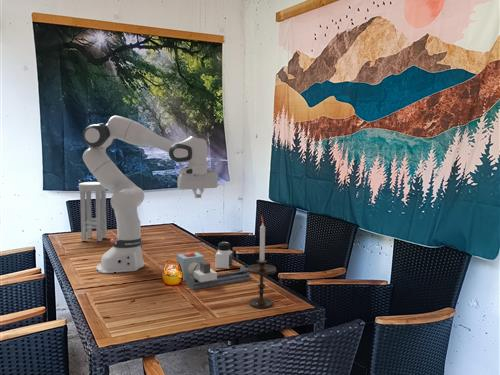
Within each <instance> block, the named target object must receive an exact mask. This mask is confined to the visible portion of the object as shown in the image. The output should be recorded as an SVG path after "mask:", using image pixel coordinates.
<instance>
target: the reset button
mask: <svg viewBox="0 0 500 375" xmlns="http://www.w3.org/2000/svg"><path fill="white" fill-rule="evenodd" d="M185 253H186V257H193V256H195V253H194V251H189V252H188V251H187V252H185Z"/></svg>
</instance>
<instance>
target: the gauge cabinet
mask: <svg viewBox="0 0 500 375" xmlns="http://www.w3.org/2000/svg"><path fill="white" fill-rule="evenodd" d="M193 252H194V251H193ZM186 253H187V252H185V253H177V254H176V263H177V262H178V263H179V264H180V266H181V269H182V273H183V280H182V281H183V282H184V281H185V282H186V275H187V274H188V275H190V276H191V277H193V271H197V270H200V262H205V255H203V254H201V253H199V252H197V251H195V252H194V253H195V256H193V257H186ZM194 279H195V278H194Z"/></svg>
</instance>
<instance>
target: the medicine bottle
mask: <svg viewBox="0 0 500 375" xmlns="http://www.w3.org/2000/svg"><path fill="white" fill-rule="evenodd" d="M217 244H218V245H217V252H216V253H215V256H214V257H215V260H214V262H215V263H214V264H215V265H214V266H215V267H214V268H216V269H227V270H228V269H231V267H232V266H233V263H234V262H233V260H234V259H233V258H234V257H233V255H234V254H233V251H232V250H231V243H230V242H227V241H222V242H221V241H220V242H219V243H217Z"/></svg>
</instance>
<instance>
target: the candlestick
mask: <svg viewBox="0 0 500 375" xmlns="http://www.w3.org/2000/svg"><path fill="white" fill-rule="evenodd" d="M260 220H261V226H259V259H258V260H256V263H254V264H251V265H248V266H247V269H248V272H250V274H252V275H256V276H257V275H259V283H258V284H257V287H258V289H259V290H258V291H257V293H259V297H255V298H251V299H250V300H249V306H250V307H252V308H254V309H259V310H264V309H269V308H272V307H273V305H274V301H273V300H272V299H270V298H267V297H264V294H265V291H266V290H264V289H265V287H266V284H265V283H264V276H268V275H273V274H275V273H276V272H277V268H276V267H277V266H274V265H273V264H268V263H267V262H268V260H265V256H266V255H265V254H266V253H265V252H266V250H265V249H266V248H265V246H266V226H265V224H264V219H263V216H262V215H261V214H260Z"/></svg>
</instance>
